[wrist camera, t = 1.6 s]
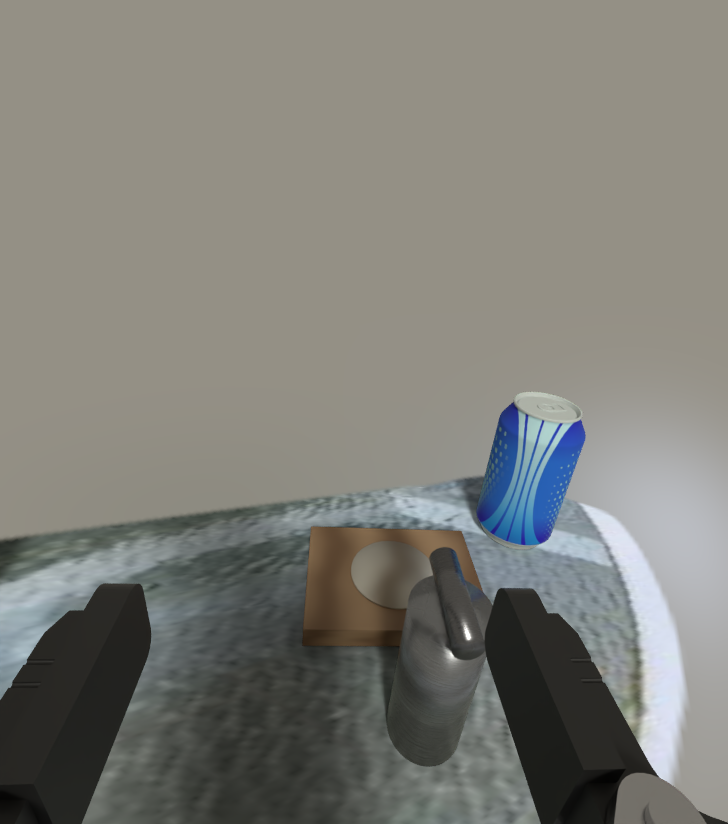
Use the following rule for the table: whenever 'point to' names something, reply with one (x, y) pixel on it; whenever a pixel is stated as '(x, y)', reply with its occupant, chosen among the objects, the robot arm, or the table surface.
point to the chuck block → (369, 581)
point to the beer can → (530, 469)
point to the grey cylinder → (437, 662)
